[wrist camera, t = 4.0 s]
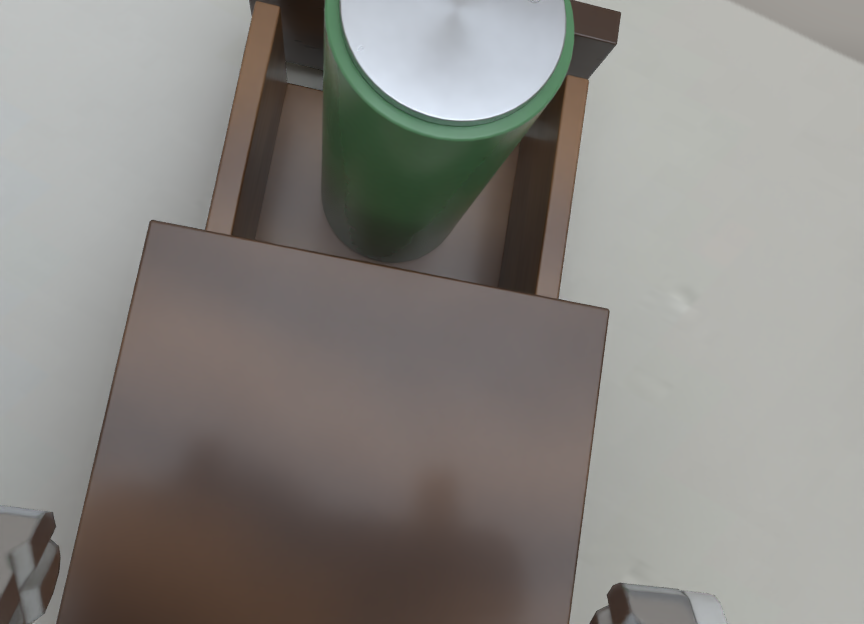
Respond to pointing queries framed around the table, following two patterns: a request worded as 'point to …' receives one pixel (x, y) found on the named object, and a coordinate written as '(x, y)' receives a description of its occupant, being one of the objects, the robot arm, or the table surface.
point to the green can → (428, 110)
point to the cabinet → (335, 445)
